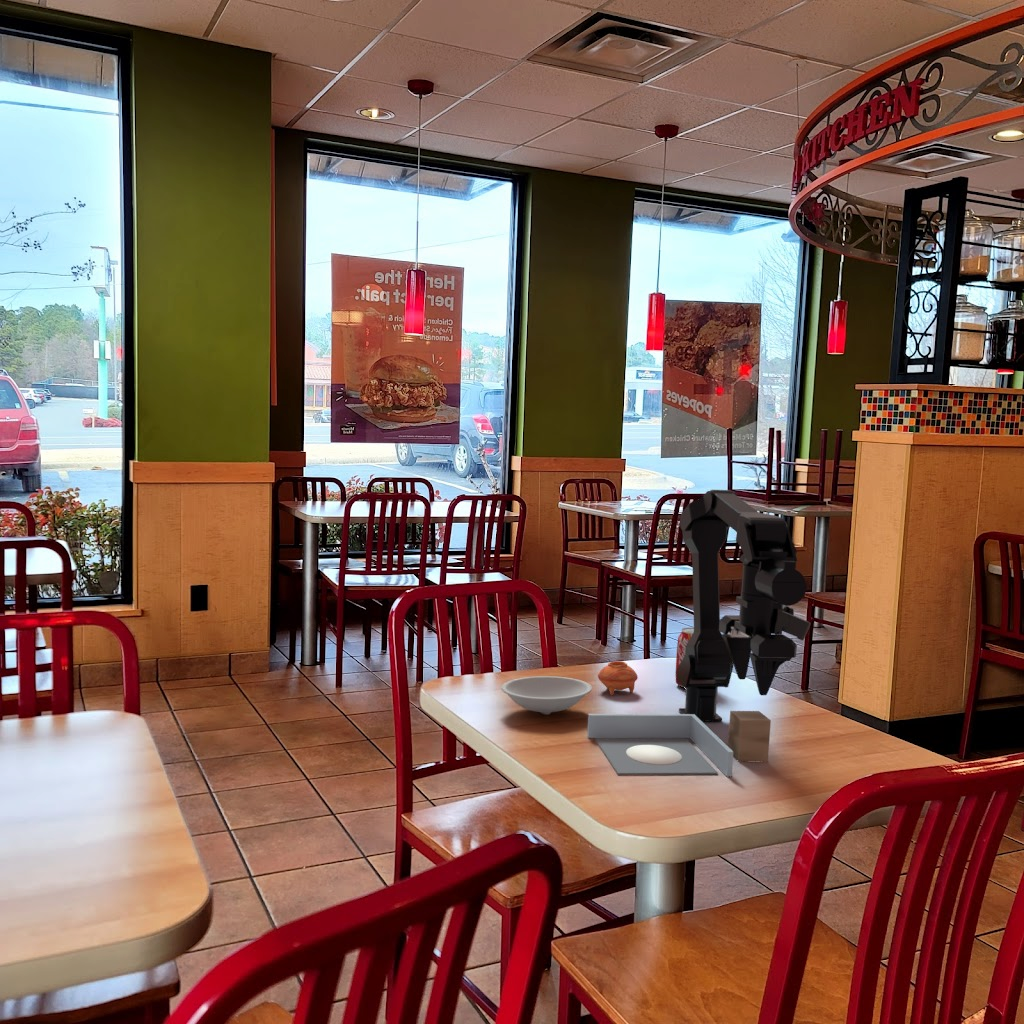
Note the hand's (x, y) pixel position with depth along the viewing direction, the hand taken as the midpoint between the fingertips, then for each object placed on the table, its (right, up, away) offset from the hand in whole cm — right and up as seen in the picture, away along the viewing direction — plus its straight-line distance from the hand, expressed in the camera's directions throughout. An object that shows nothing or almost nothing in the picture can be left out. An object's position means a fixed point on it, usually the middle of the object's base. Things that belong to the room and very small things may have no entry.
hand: (752, 686), depth 158 cm
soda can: (-2, -8, +42) cm, 43 cm away
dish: (-33, -9, +20) cm, 40 cm away
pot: (-18, -8, +36) cm, 41 cm away
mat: (-16, -11, -1) cm, 20 cm away
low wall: (-16, -11, -1) cm, 20 cm away
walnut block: (-1, -12, +1) cm, 12 cm away
